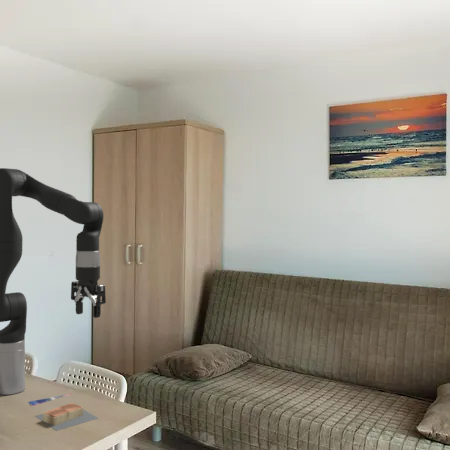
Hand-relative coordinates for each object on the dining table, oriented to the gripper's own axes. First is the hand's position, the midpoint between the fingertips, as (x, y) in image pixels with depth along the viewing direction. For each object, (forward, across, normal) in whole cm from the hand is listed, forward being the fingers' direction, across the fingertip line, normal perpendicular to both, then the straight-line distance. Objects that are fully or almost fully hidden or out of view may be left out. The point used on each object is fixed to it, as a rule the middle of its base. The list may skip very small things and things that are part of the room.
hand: (87, 315), depth 166 cm
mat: (+28, +6, -12) cm, 31 cm away
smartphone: (+29, -9, -6) cm, 31 cm away
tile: (+26, +5, -8) cm, 28 cm away
